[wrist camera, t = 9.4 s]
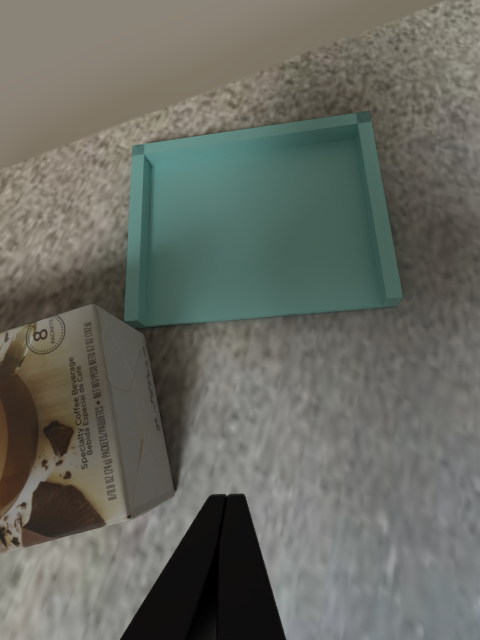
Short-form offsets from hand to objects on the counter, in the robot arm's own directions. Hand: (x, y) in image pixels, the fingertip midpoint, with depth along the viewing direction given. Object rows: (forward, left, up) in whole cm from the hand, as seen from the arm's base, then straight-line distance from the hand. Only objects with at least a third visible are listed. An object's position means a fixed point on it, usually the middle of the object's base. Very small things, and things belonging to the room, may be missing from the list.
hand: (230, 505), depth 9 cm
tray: (+14, -2, -11) cm, 18 cm away
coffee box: (+4, +5, -8) cm, 10 cm away
